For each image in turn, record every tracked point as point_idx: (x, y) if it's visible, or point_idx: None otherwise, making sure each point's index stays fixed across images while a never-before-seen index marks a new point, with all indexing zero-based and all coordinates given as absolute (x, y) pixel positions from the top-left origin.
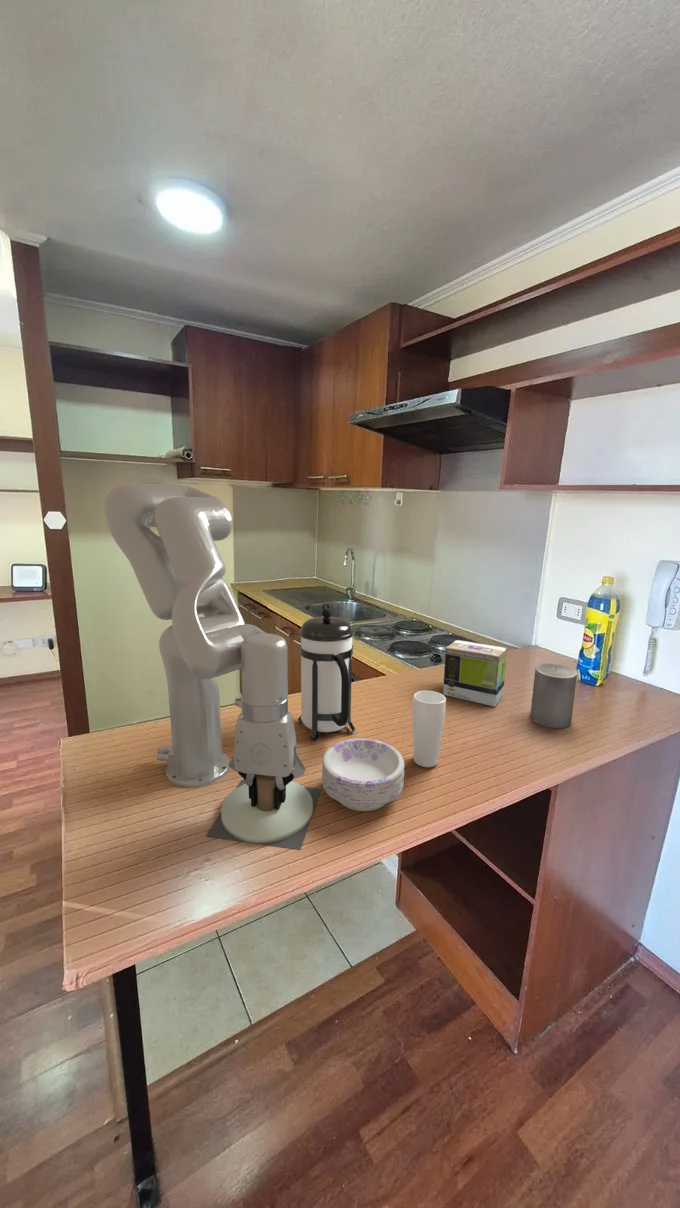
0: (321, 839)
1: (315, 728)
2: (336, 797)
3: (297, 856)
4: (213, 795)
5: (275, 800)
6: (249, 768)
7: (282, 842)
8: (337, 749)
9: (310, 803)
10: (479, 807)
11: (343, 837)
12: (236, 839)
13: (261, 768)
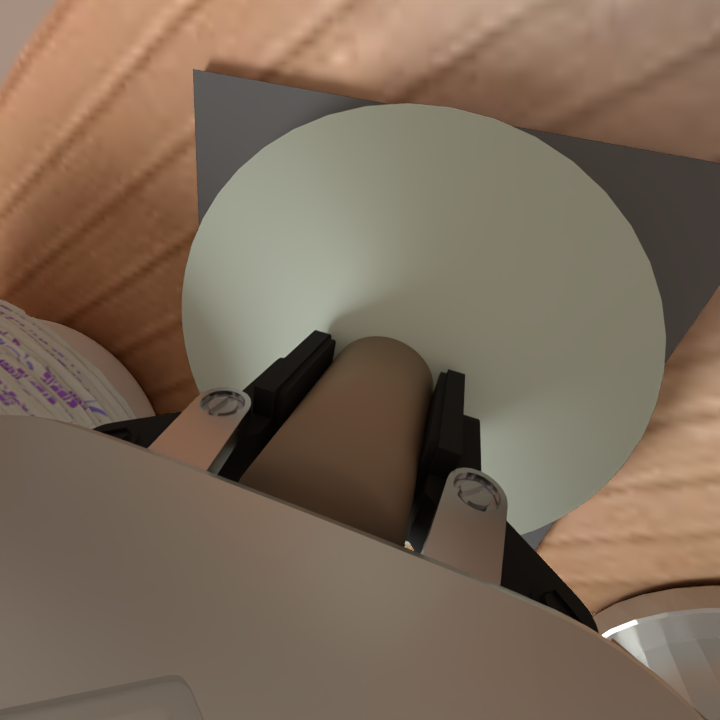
0: (141, 172)
1: None
2: (56, 349)
3: (207, 32)
4: (670, 517)
5: (307, 355)
6: (450, 670)
7: (286, 124)
8: None
9: (197, 365)
10: None
11: (71, 185)
12: (554, 144)
13: (218, 604)
